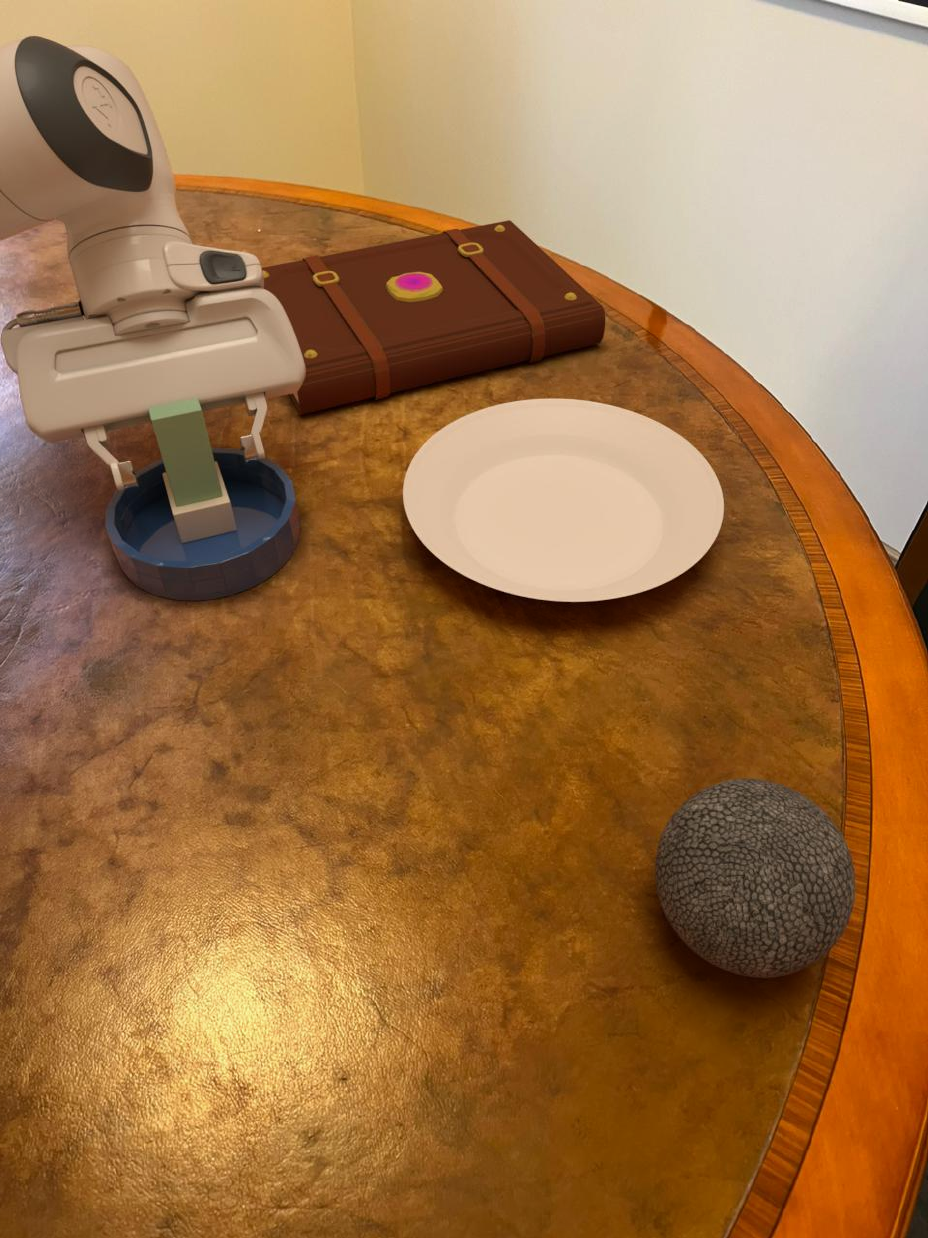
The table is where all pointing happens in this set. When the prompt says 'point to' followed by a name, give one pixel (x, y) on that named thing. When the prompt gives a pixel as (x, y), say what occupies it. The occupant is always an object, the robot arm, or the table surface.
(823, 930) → the decorative ball
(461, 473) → the white dinner plate
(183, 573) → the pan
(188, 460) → the green block on base
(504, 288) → the book
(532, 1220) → the table surface
